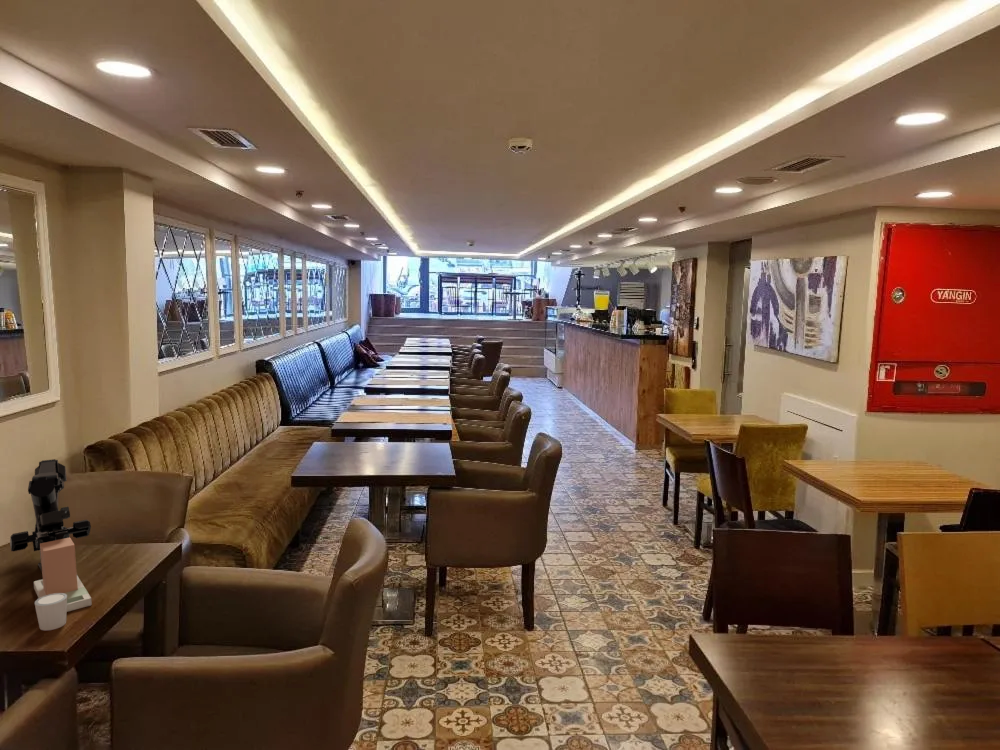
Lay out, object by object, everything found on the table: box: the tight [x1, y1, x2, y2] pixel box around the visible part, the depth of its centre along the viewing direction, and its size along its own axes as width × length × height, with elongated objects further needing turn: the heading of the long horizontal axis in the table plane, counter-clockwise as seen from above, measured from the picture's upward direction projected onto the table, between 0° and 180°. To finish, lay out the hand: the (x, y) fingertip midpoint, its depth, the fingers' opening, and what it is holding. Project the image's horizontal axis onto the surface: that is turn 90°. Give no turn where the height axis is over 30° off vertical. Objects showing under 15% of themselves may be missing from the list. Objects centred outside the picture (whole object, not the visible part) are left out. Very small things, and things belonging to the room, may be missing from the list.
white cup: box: [34, 593, 67, 631], centre depth 163 cm, size 7×7×7 cm
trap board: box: [33, 575, 93, 612], centre depth 179 cm, size 22×10×2 cm, turn 43°
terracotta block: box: [39, 536, 78, 595], centre depth 178 cm, size 7×7×13 cm
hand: (56, 561), depth 181 cm, fingers closed
